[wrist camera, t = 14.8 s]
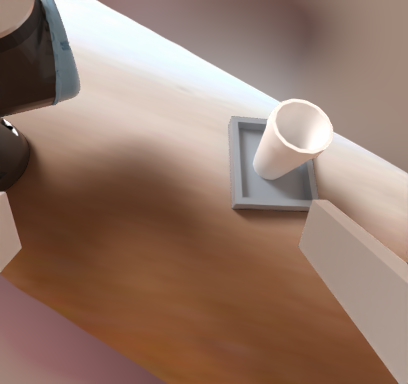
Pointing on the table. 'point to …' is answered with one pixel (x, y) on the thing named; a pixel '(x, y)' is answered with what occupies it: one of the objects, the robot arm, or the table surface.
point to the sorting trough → (258, 186)
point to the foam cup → (292, 138)
